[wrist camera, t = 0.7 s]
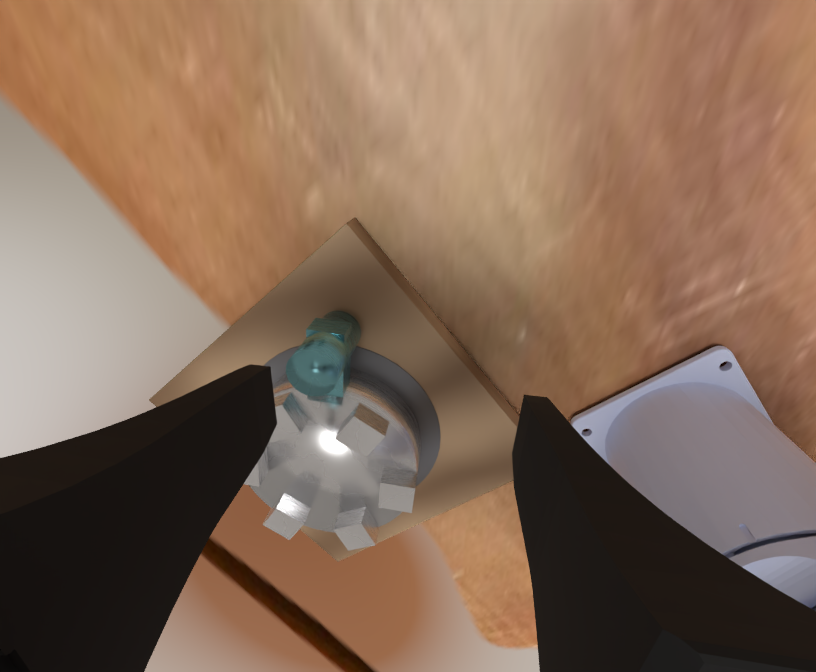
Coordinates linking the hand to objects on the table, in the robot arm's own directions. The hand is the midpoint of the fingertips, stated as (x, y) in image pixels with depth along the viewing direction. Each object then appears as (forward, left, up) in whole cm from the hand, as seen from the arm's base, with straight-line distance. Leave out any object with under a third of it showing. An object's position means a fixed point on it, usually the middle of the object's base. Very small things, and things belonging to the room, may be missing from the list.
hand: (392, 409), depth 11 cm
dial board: (-3, +8, -9) cm, 13 cm away
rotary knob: (-2, +7, -7) cm, 10 cm away
